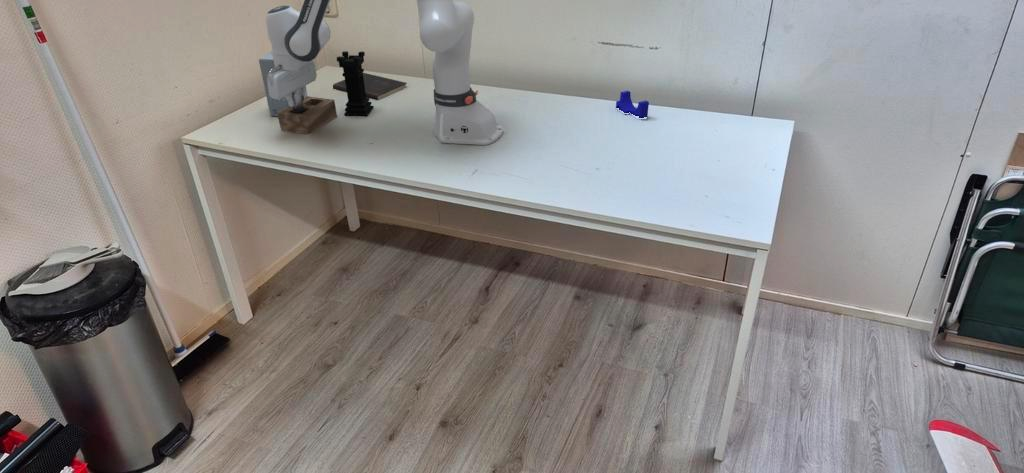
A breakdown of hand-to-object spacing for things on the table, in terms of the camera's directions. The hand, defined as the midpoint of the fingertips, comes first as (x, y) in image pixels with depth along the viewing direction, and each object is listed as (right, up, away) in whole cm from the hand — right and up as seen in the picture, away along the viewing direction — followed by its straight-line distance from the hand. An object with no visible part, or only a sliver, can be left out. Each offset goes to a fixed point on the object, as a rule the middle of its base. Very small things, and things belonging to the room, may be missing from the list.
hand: (297, 102), depth 211 cm
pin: (0, -3, +2) cm, 4 cm away
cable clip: (+110, -2, +10) cm, 110 cm away
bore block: (+2, -5, +8) cm, 9 cm away
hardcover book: (+16, +12, +36) cm, 41 cm away
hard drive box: (-9, +2, +19) cm, 21 cm away
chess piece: (+16, 0, +16) cm, 23 cm away
